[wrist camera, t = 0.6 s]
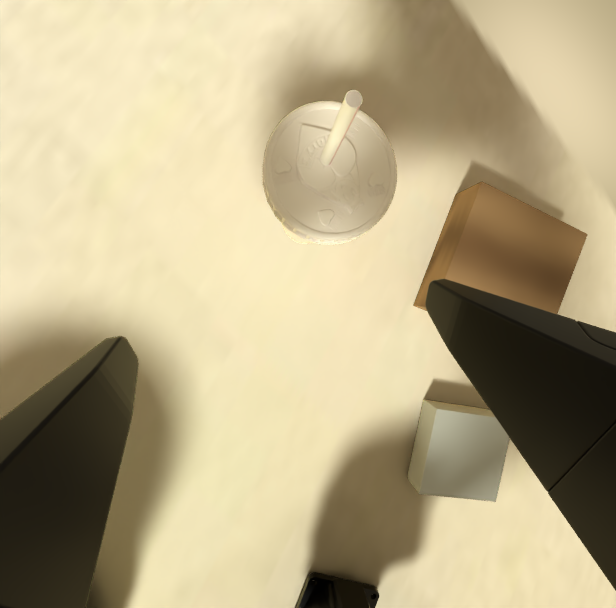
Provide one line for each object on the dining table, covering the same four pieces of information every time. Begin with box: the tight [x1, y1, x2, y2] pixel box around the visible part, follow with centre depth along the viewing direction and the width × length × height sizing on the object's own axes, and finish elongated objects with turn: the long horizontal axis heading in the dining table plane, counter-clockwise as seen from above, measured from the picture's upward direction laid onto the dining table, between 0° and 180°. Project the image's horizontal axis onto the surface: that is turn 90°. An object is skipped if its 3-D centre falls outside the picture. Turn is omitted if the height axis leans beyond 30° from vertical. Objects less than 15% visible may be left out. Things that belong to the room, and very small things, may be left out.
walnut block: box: [413, 182, 587, 314], centre depth 24 cm, size 10×10×3 cm
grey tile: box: [407, 399, 510, 502], centre depth 25 cm, size 7×7×2 cm
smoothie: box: [263, 90, 397, 245], centre depth 16 cm, size 6×6×14 cm
